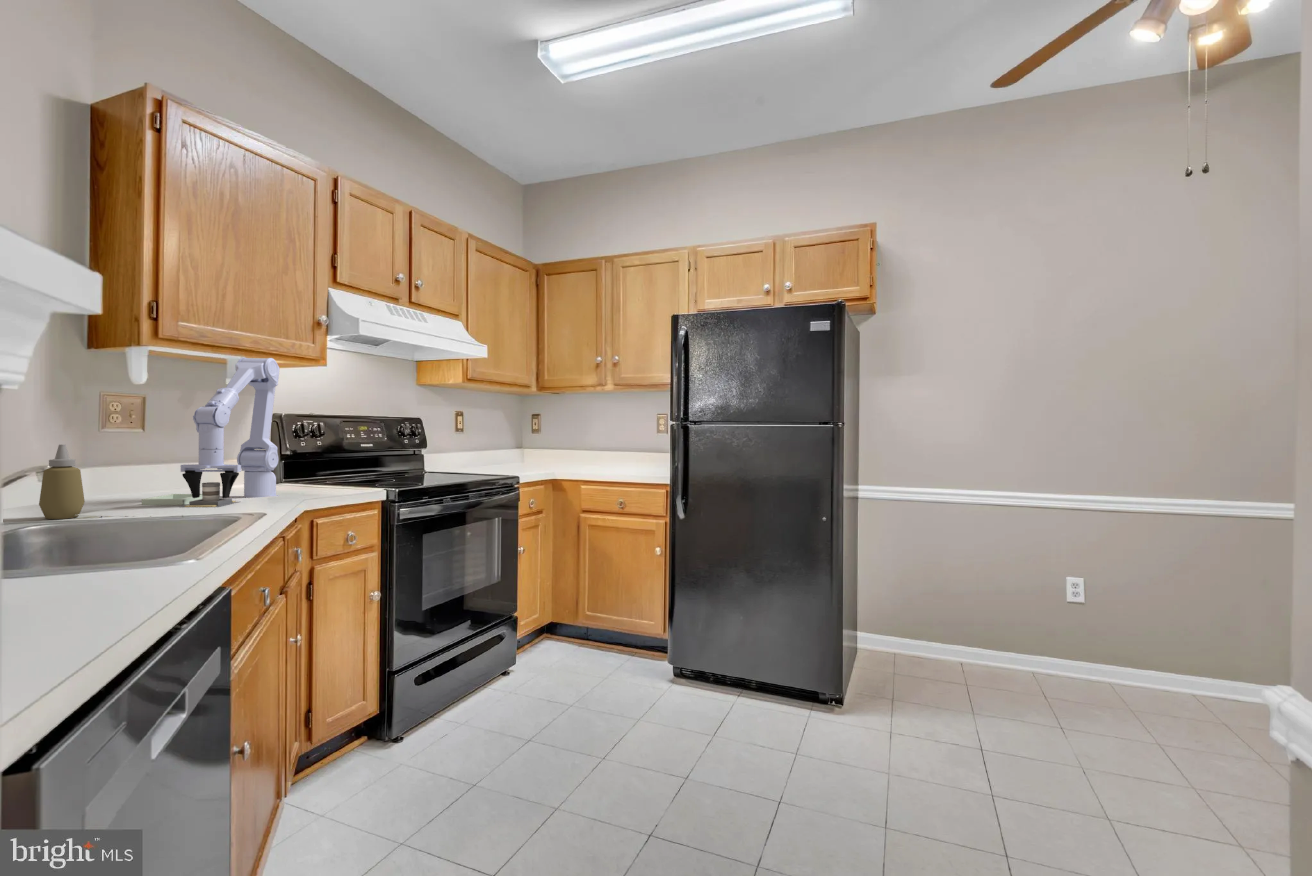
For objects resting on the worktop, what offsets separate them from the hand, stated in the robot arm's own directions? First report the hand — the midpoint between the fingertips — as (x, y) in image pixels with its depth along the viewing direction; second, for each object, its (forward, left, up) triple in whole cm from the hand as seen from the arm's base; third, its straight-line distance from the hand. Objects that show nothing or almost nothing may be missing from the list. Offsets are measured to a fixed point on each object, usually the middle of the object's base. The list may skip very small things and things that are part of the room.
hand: (211, 497), depth 172 cm
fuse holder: (0, 0, -3) cm, 3 cm away
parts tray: (-6, -12, -3) cm, 14 cm away
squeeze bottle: (+18, -24, -3) cm, 30 cm away
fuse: (0, 0, -2) cm, 2 cm away
